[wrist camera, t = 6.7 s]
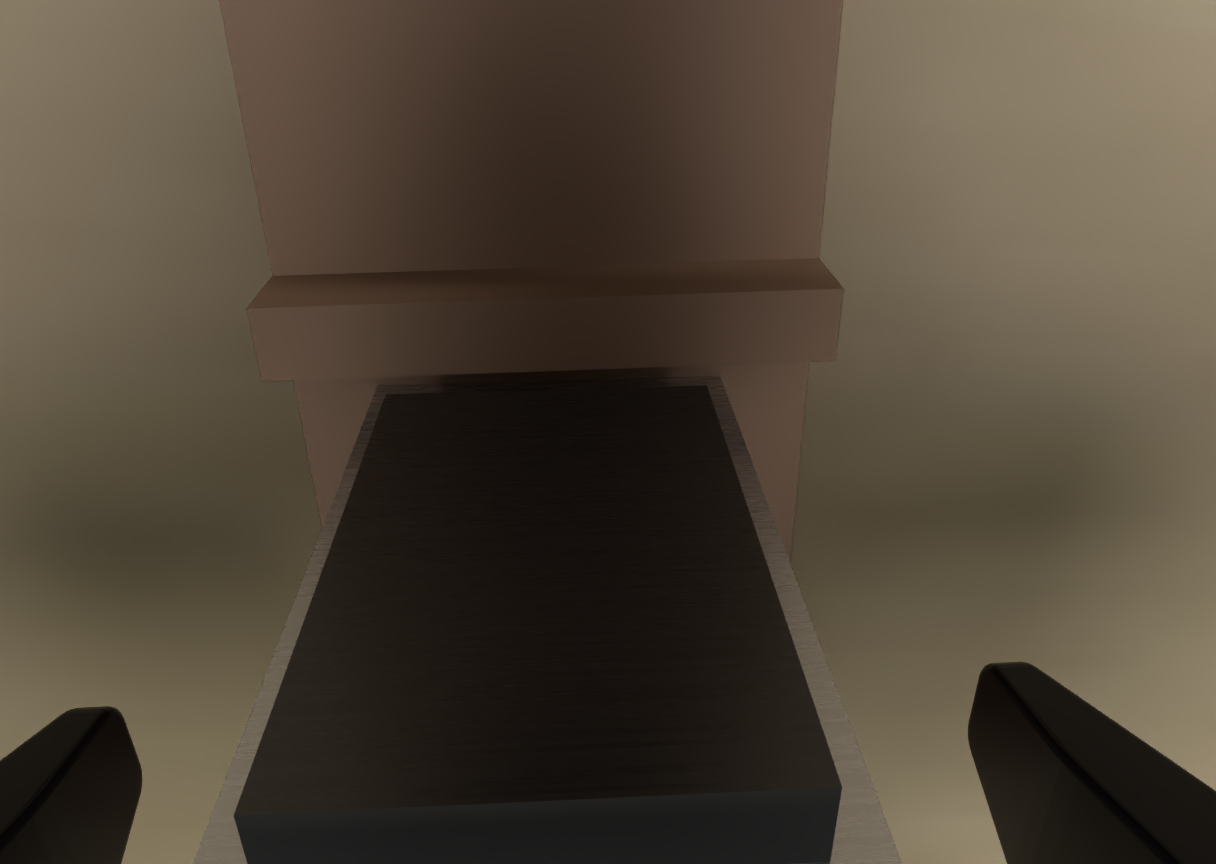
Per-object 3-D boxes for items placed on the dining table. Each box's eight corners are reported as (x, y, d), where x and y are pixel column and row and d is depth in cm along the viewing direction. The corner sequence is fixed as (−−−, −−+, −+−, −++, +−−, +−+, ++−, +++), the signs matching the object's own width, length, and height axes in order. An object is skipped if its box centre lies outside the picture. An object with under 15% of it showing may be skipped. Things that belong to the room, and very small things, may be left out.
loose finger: (705, 639, 13) (843, 1286, 7) (413, 650, 13) (282, 1327, 7) (722, 328, 11) (949, 866, 5) (370, 337, 11) (115, 907, 4)
